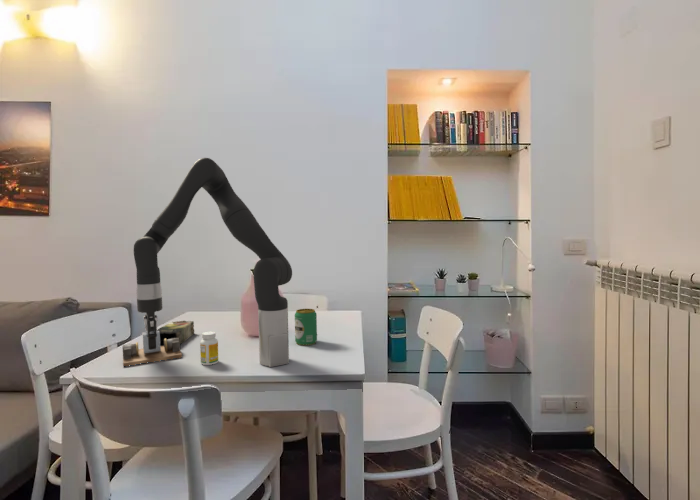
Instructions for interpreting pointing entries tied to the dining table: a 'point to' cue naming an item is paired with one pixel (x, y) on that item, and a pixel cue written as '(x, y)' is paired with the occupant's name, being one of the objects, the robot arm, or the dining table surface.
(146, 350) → the block
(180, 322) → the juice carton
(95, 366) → the dining table surface
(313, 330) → the beverage can
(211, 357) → the supplement bottle
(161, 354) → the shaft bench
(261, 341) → the robot arm
